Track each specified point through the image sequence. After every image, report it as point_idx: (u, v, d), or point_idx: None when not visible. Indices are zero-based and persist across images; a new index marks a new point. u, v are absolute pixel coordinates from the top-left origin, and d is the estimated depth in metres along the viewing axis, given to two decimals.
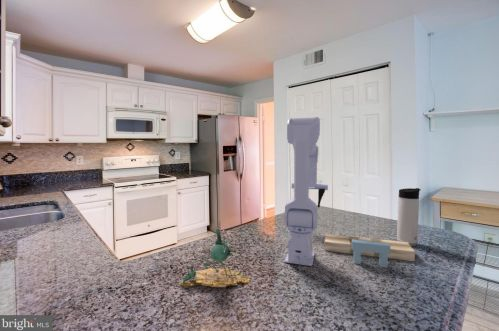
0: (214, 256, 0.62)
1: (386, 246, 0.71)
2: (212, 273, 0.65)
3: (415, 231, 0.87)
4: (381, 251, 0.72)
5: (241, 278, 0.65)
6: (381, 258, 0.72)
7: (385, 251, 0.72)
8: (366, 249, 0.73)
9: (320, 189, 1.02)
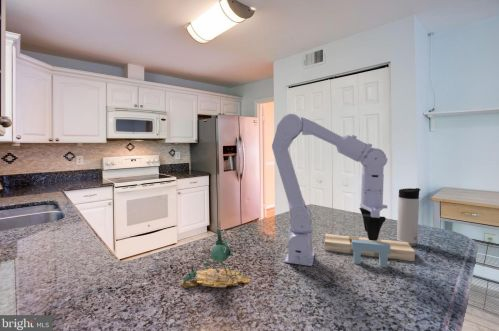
0: (215, 256, 0.62)
1: (386, 246, 0.71)
2: (213, 273, 0.65)
3: (415, 231, 0.87)
4: (381, 251, 0.72)
5: (242, 278, 0.65)
6: (381, 258, 0.72)
7: (385, 251, 0.72)
8: (366, 249, 0.73)
9: (370, 214, 0.69)
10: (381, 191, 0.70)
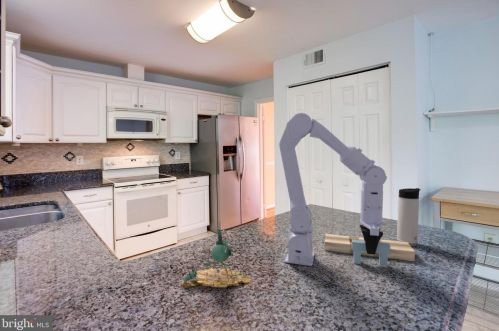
0: (215, 256, 0.62)
1: (386, 246, 0.71)
2: (213, 273, 0.65)
3: (415, 231, 0.87)
4: (381, 251, 0.72)
5: (242, 278, 0.65)
6: (381, 258, 0.72)
7: (385, 251, 0.72)
8: None
9: (369, 231, 0.70)
10: (380, 208, 0.71)
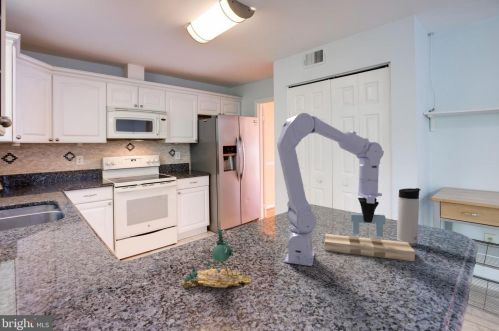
0: (216, 256, 0.62)
1: (381, 217, 0.79)
2: (214, 273, 0.65)
3: (415, 231, 0.87)
4: (377, 222, 0.80)
5: (243, 278, 0.65)
6: (377, 228, 0.80)
7: (381, 222, 0.79)
8: None
9: (366, 200, 0.78)
10: (376, 180, 0.79)
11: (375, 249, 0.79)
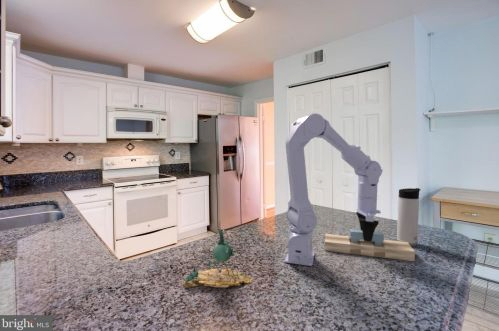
0: (217, 256, 0.62)
1: (380, 235, 0.81)
2: (214, 273, 0.65)
3: (415, 231, 0.87)
4: (376, 239, 0.81)
5: (243, 278, 0.65)
6: None
7: (379, 239, 0.81)
8: (362, 238, 0.83)
9: (365, 218, 0.79)
10: (375, 198, 0.80)
11: (375, 249, 0.79)
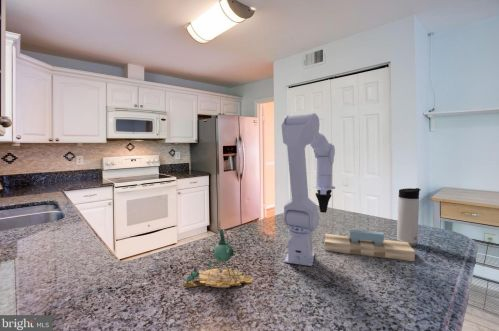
0: (217, 256, 0.62)
1: (380, 235, 0.81)
2: (215, 273, 0.65)
3: (415, 231, 0.87)
4: (376, 239, 0.81)
5: (244, 278, 0.65)
6: None
7: (379, 239, 0.81)
8: (362, 238, 0.83)
9: None
10: (330, 175, 0.94)
11: (375, 249, 0.79)
